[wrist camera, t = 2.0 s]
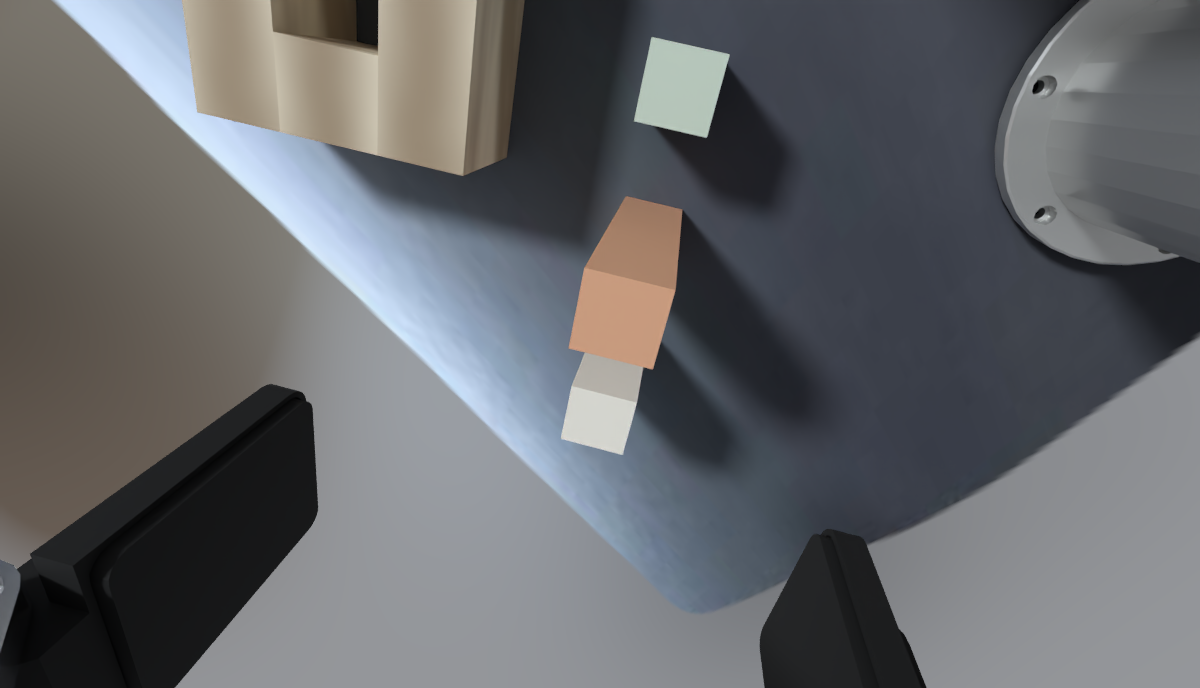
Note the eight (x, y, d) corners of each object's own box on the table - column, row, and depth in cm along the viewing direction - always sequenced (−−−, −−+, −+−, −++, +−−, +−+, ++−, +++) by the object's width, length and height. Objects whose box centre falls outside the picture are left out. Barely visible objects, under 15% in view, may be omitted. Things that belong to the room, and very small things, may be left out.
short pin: (723, 59, 25) (729, 54, 20) (704, 128, 26) (706, 137, 22) (659, 44, 25) (651, 36, 20) (644, 114, 26) (633, 121, 22)
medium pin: (649, 328, 31) (636, 402, 24) (638, 372, 32) (622, 454, 25) (599, 316, 31) (571, 385, 24) (589, 360, 33) (560, 438, 25)
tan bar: (682, 209, 28) (675, 290, 17) (667, 263, 29) (652, 369, 19) (626, 196, 28) (584, 267, 17) (613, 250, 29) (568, 348, 19)
